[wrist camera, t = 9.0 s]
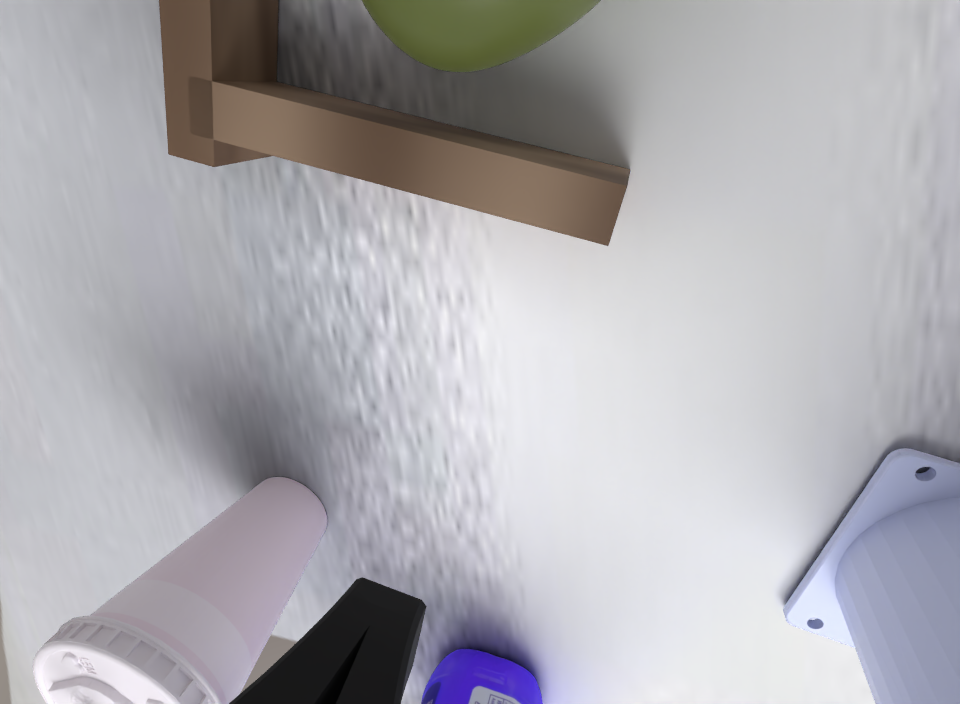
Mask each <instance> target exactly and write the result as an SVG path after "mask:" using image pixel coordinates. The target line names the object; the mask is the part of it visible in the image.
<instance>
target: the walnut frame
mask: <svg viewBox="0 0 960 704" xmlns="http://www.w3.org/2000/svg"><path fill="white" fill-rule="evenodd" d="M278 3H279V0H159V6H160V22H161V39H162V55H163V72H164V88H165V104H166V121H167V137H168V154H169V155H173V156H176V157H180V158H184V159H187V160H191V161H194V162H198V163H202V164H205V165H209V166H212V167H217V166H222V165H227V164H233V163H238V162H243V161H248V160H254V159H259V158H264V157H269V156H276V157H280V158H283V159H287V160H291V161H295V162H298V163H302V164H306V165H309V166H313V167H317V168H321V169H324V170H328V171H332V172H335V173H339V174H343V175H347V176H350V177H354V178H358V179H361V180H365V181H369V182H373V183H376V184H380V185H384V186H387V187H391V188H395V189H399V190H402V191H406V192H410V193H413V194H417V195H421V196H425V197H428V198H432V199H436V200H439V201H443V202H447V203H451V204H454V205H458V206H462V207H465V208H469V209H473V210H477V211H480V212H484V213H488V214H491V215H495V216H499V217H503V218H506V219H510V220H514V221H517V222H521V223H525V224H529V225H532V226H536V227H540V228H543V229H547V230H551V231H555V232H558V233H562V234H566V235H569V236H573V237H577V238H581V239H584V240H588V241H592V242H595V243H599V244H603V245H607V246H608V245H609V242H610V239H611V235H612V232H613V229H614V226H615V223H616V220H617V216H618V213H619V210H620V207H621V204H622V201H623V197H624V194H625V191H626V188H627V184H628V179H629V174H630V169H626V168H622V167H618V166H614V165H610V164H606V163H602V162H598V161H594V160H590V159H586V158H582V157H578V156H574V155H570V154H566V153H562V152H558V151H554V150H550V149H546V148H542V147H538V146H534V145H529V144H525V143H521V142H517V141H513V140H509V139H505V138H501V137H497V136H493V135H489V134H485V133H481V132H477V131H473V130H469V129H465V128H461V127H457V126H453V125H449V124H445V123H441V122H437V121H433V120H429V119H425V118H421V117H417V116H413V115H409V114H404V113H400V112H396V111H392V110H388V109H384V108H380V107H376V106H372V105H368V104H364V103H360V102H356V101H352V100H348V99H344V98H340V97H336V96H332V95H328V94H324V93H320V92H316V91H312V90H308V89H304V88H300V87H296V86H292V85H288V84H284V83H280V82H277V44H278Z"/></svg>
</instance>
